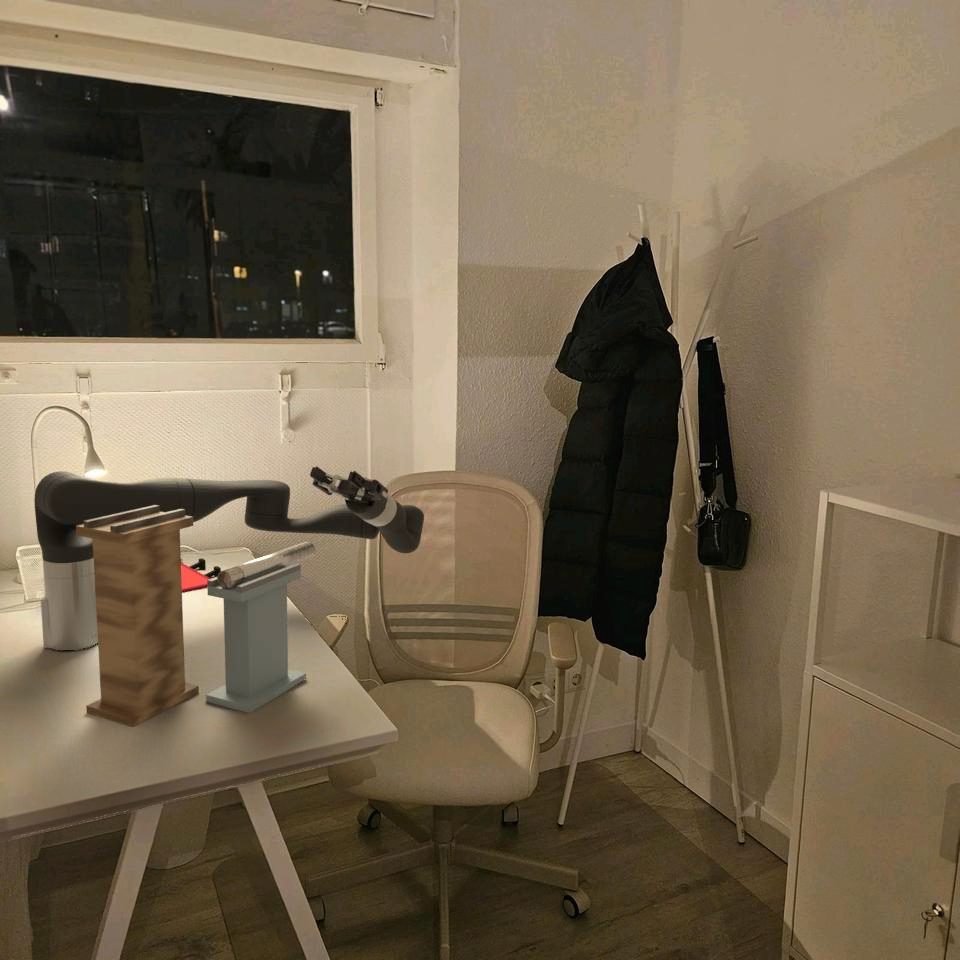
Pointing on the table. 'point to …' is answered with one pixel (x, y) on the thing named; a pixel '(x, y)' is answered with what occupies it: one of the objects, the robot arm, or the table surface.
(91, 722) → the table surface
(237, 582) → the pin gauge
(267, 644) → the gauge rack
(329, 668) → the table surface
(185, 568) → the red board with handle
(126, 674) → the stand
